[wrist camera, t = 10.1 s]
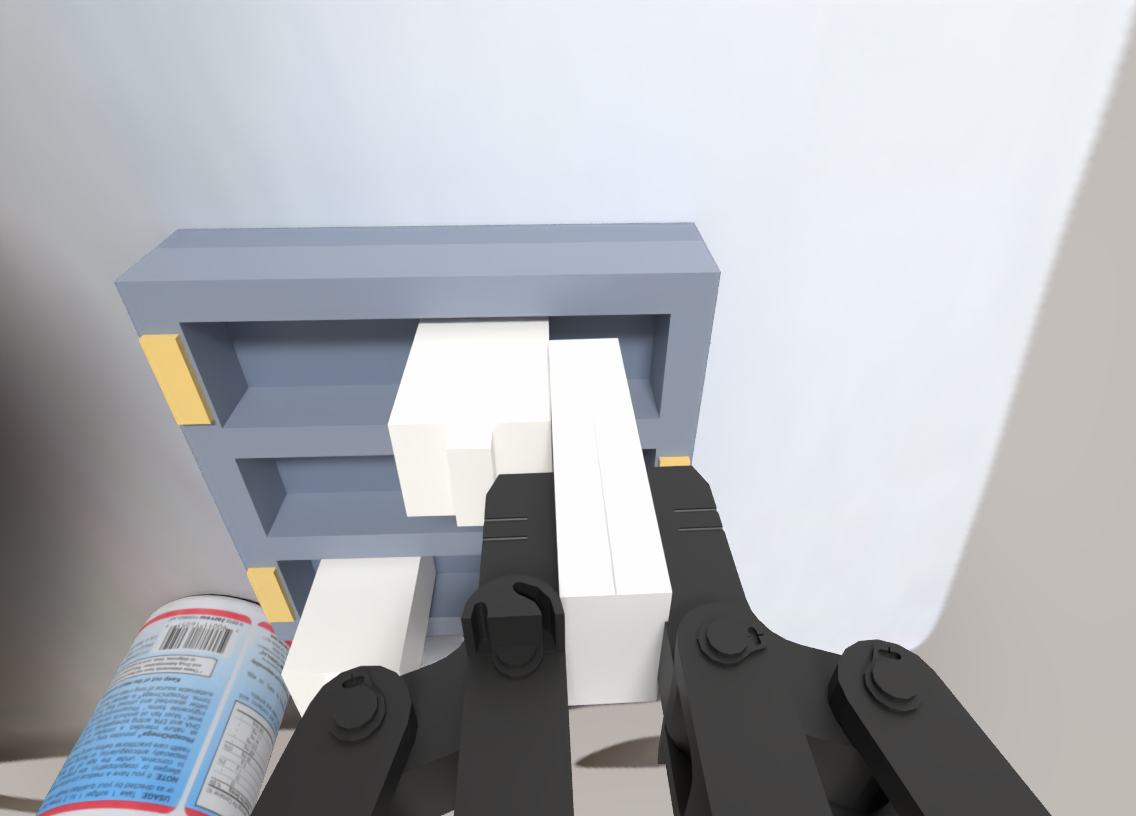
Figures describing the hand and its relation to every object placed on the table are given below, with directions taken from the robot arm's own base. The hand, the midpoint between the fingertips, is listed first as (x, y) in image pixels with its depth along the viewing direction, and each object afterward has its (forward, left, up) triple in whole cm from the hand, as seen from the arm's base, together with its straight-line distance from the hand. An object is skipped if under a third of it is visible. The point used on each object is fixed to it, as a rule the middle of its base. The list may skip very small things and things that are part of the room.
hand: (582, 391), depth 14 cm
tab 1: (-6, -8, -3) cm, 11 cm away
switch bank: (-3, -4, -4) cm, 7 cm away
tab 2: (-2, 0, -3) cm, 4 cm away
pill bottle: (-14, -15, -4) cm, 21 cm away
